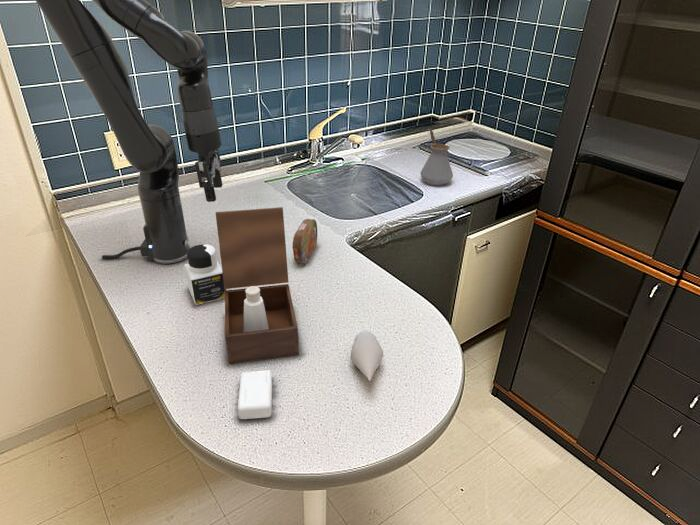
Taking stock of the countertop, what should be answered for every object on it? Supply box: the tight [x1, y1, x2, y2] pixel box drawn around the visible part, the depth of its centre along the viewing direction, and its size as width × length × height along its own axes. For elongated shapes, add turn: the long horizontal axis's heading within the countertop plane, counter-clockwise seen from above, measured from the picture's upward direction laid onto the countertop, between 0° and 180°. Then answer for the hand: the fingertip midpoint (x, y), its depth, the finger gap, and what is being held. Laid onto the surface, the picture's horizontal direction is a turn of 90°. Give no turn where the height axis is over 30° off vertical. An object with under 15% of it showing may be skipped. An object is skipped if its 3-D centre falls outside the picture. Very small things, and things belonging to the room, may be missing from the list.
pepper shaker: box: [243, 286, 269, 332], centre depth 98 cm, size 5×5×11 cm
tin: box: [292, 218, 318, 264], centre depth 128 cm, size 15×3×8 cm, turn 168°
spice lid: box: [215, 206, 289, 290], centre depth 102 cm, size 16×13×1 cm
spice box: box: [224, 283, 300, 365], centre depth 100 cm, size 15×13×7 cm
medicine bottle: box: [184, 243, 227, 306], centre depth 111 cm, size 7×7×12 cm
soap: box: [237, 369, 273, 420], centre depth 86 cm, size 9×6×3 cm, turn 7°
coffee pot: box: [419, 128, 454, 187], centre depth 177 cm, size 21×12×15 cm, turn 4°
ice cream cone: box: [350, 330, 384, 382], centre depth 92 cm, size 6×6×15 cm
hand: (215, 193), depth 121 cm, fingers open, 8 cm apart
